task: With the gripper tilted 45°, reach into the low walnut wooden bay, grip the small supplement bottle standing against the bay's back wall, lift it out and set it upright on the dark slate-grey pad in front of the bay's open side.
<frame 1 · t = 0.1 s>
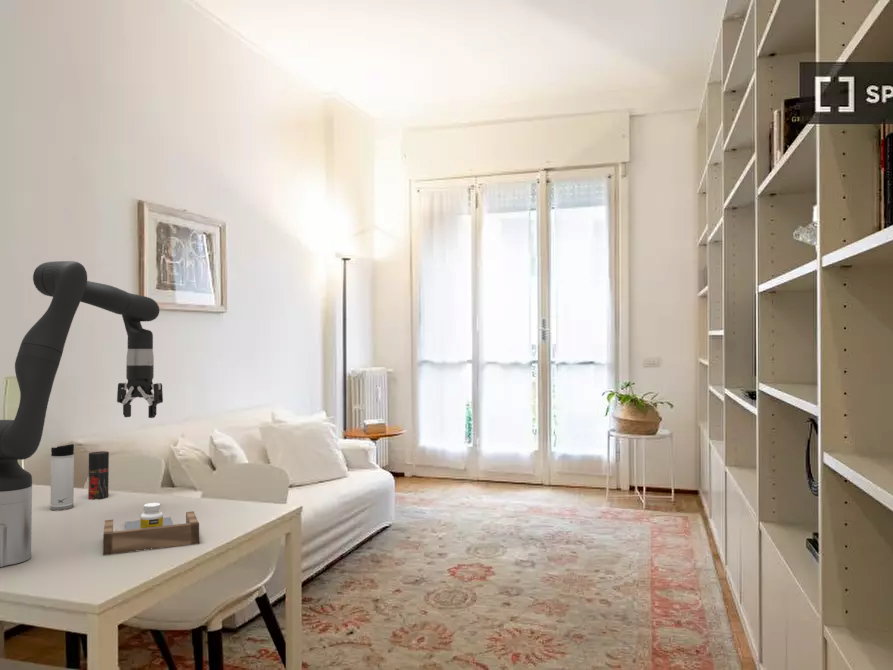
hand: (139, 417, 202), 29 cm above the table, tool pointing down, fingers open, 8 cm apart
deodorant: (98, 498, 223), on the table
walnut bay: (151, 542, 173), on the table
travel mug: (62, 508, 208), on the table
slate pad: (148, 526, 188), on the table
supplement bottle: (151, 543, 173), on the table
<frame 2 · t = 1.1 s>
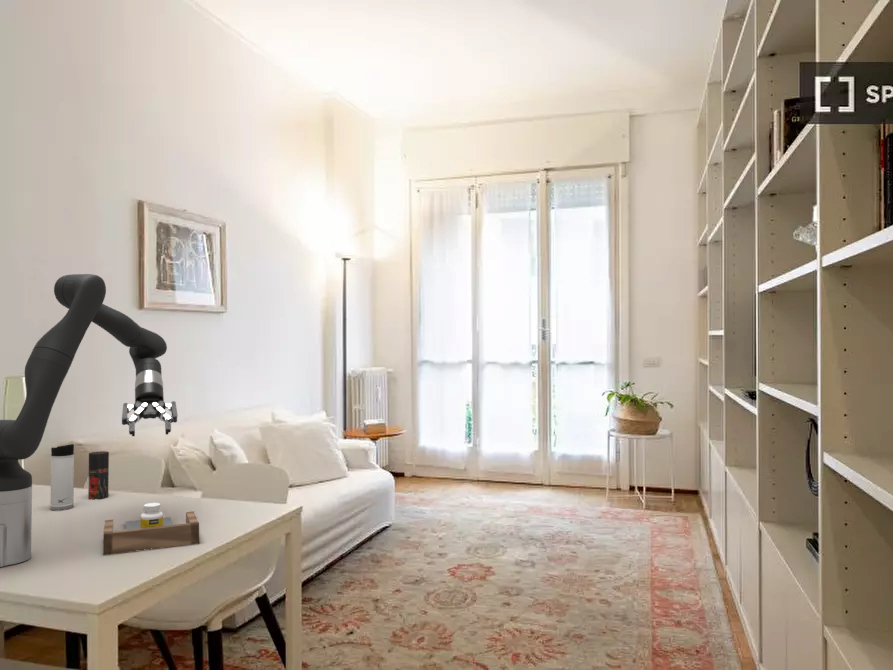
hand: (150, 433, 184), 27 cm above the table, tool tilted 45°, fingers open, 8 cm apart
nothing on the table moved.
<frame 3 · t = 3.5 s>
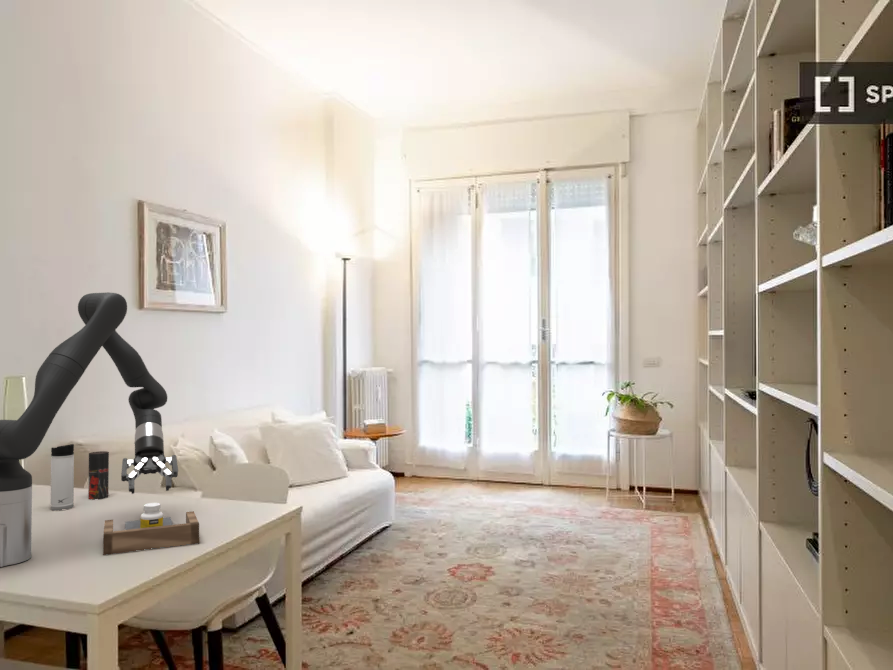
hand: (150, 490, 180), 12 cm above the table, tool tilted 45°, fingers open, 8 cm apart
nothing on the table moved.
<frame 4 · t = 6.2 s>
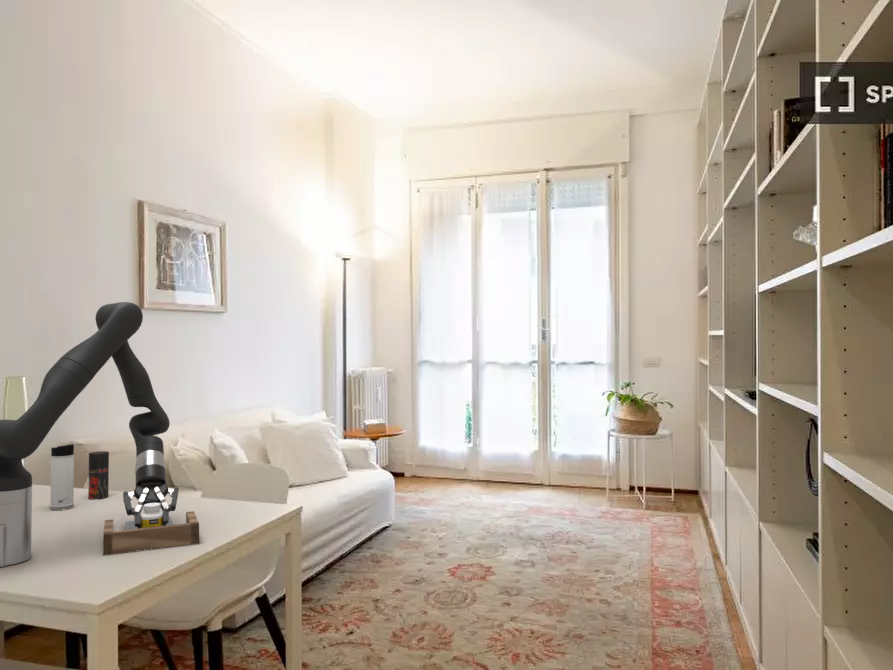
hand: (152, 525, 171), 5 cm above the table, tool tilted 45°, fingers closed on supplement bottle, 5 cm apart
supplement bottle: (151, 542, 173), on the table, touching gripper
everything else where it was.
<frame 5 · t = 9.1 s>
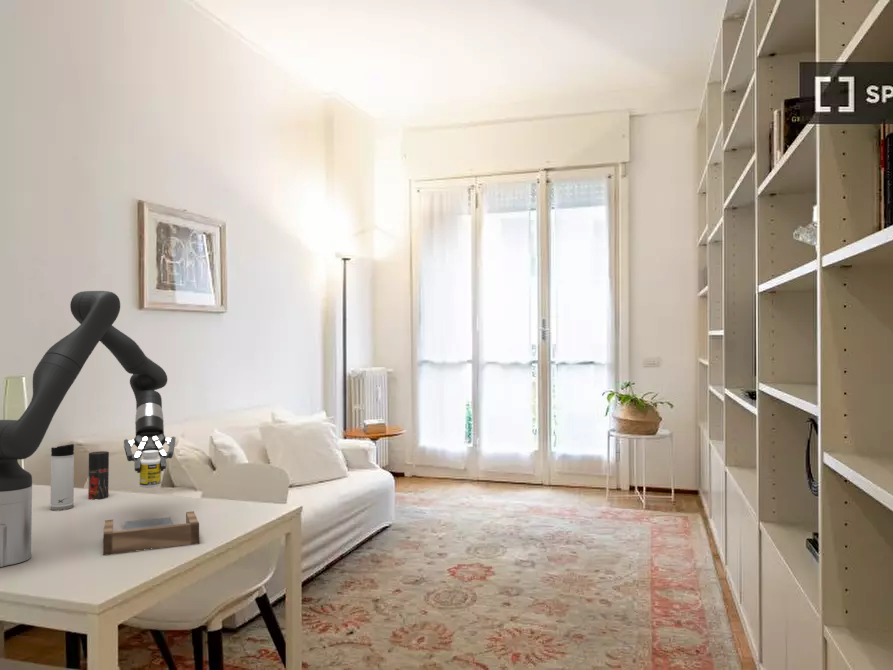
hand: (150, 470, 185), 16 cm above the table, tool tilted 45°, fingers closed on supplement bottle, 5 cm apart
supplement bottle: (150, 486, 187), point 11 cm above the table, touching gripper
everything else where it was.
when the fingers open (7 cm above the table, at t = 12.1 s): supplement bottle drops 1 cm, resting on slate pad.
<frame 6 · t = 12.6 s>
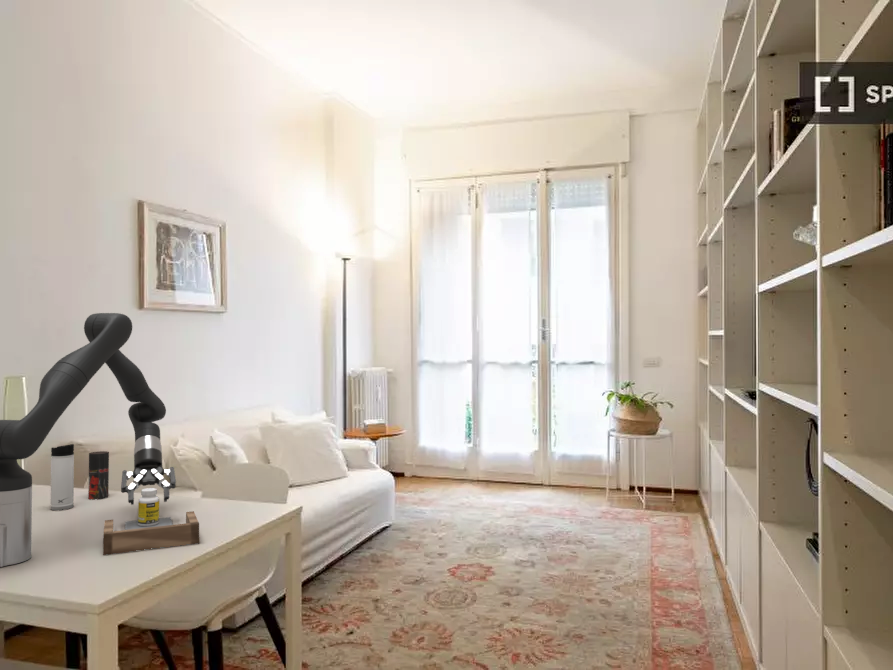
hand: (149, 501, 187), 7 cm above the table, tool tilted 45°, fingers open, 8 cm apart
supplement bottle: (148, 524, 188), resting on slate pad
everything else where it was.
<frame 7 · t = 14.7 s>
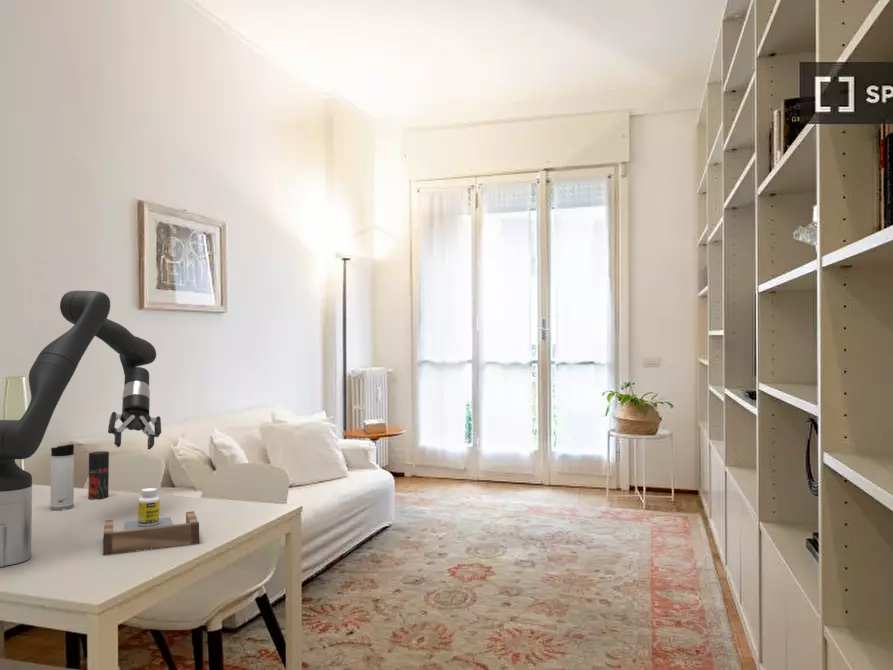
hand: (134, 447, 195), 21 cm above the table, tool tilted 35°, fingers open, 8 cm apart
nothing on the table moved.
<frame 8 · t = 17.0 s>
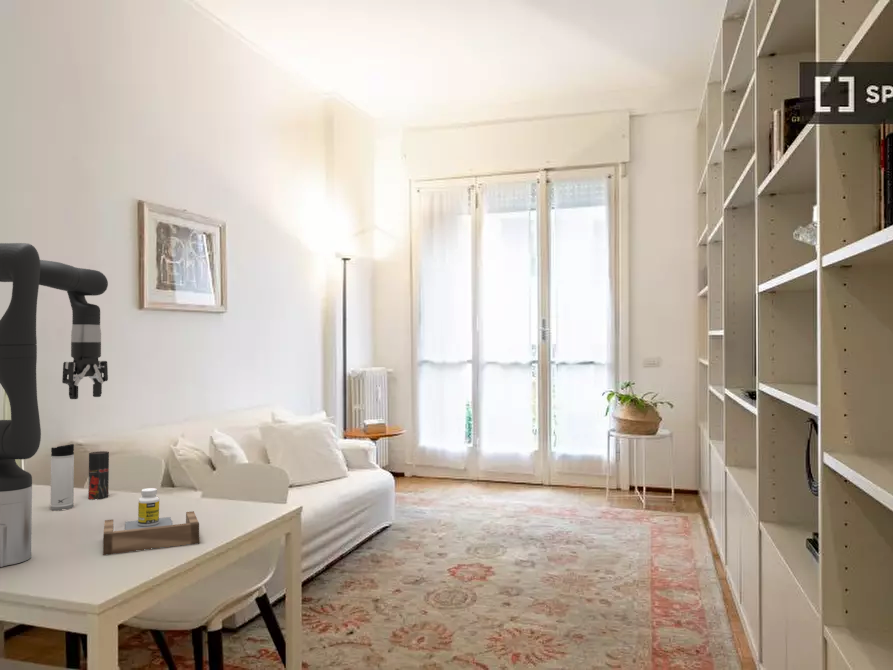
hand: (85, 398, 189), 36 cm above the table, tool pointing down, fingers open, 8 cm apart
nothing on the table moved.
at the end: supplement bottle inside the target area on the slate pad (0.1 cm from its centre), point 0.3 cm above the slate pad's base; supplement bottle tilted 0°; the gripper is holding nothing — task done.
